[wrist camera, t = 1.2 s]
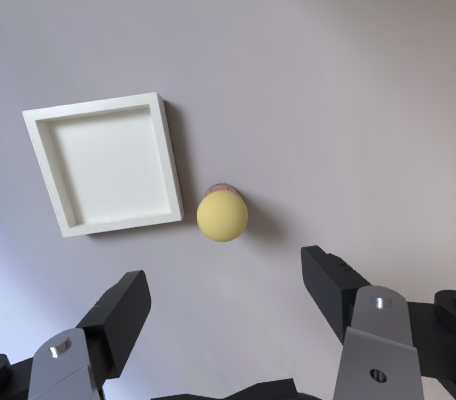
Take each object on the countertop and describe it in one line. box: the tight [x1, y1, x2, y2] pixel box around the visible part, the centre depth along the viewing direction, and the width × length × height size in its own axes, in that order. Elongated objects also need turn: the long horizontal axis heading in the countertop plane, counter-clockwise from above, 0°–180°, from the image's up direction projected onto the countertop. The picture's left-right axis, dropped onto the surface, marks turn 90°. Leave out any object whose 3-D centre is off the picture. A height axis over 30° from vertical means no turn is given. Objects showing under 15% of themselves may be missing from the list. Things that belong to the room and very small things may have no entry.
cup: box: [204, 184, 243, 200], centre depth 25 cm, size 5×5×5 cm
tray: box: [22, 92, 185, 237], centre depth 25 cm, size 14×14×2 cm
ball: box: [197, 190, 248, 242], centre depth 21 cm, size 5×5×5 cm
